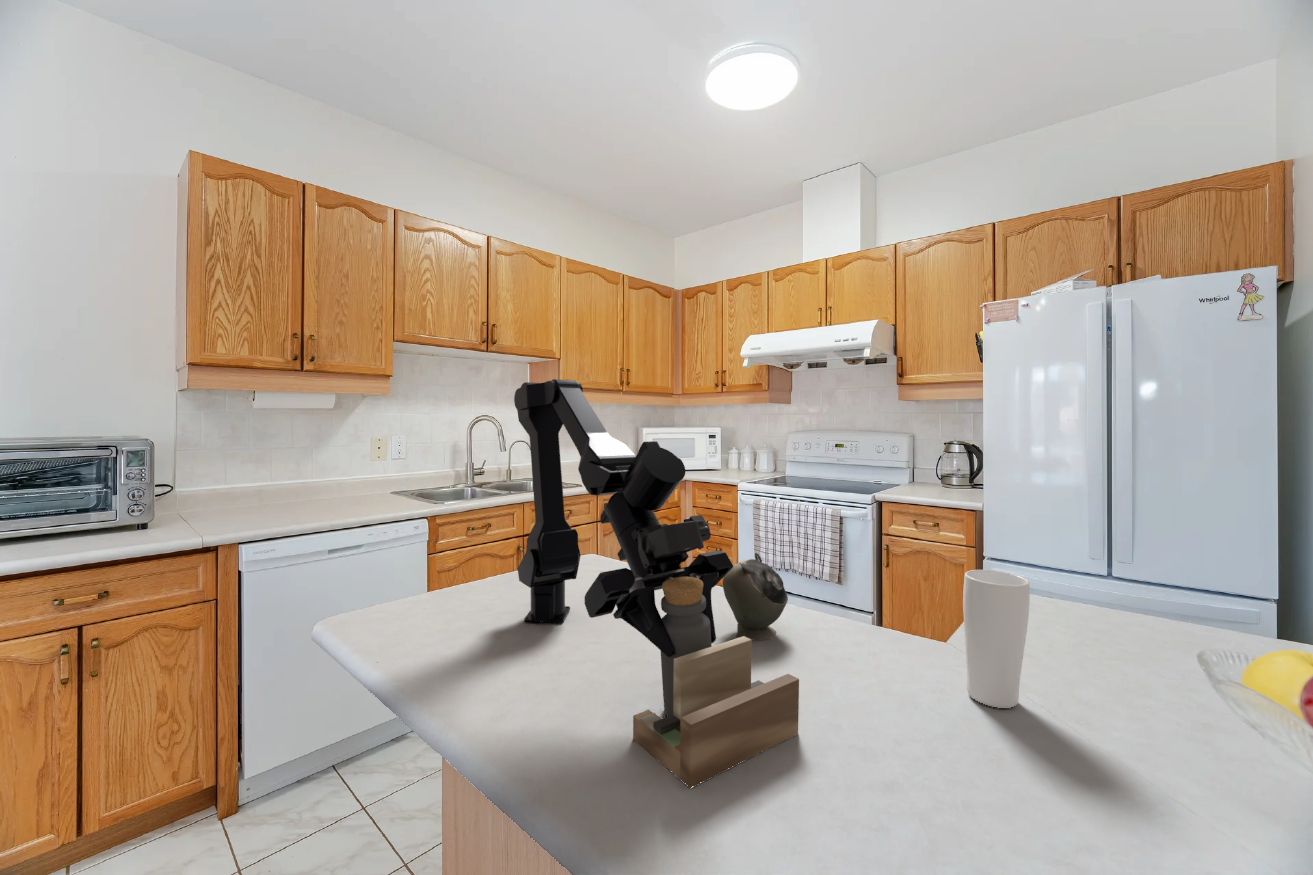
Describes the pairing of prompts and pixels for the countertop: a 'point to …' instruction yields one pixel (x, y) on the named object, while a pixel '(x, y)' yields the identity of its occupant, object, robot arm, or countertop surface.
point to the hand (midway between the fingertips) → (692, 648)
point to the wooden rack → (723, 731)
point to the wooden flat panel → (708, 679)
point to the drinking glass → (995, 635)
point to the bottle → (682, 627)
